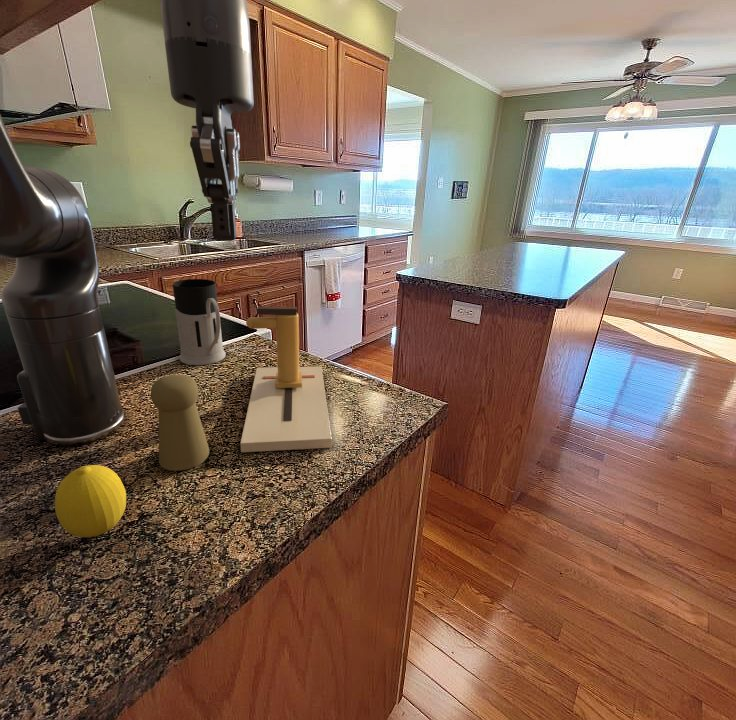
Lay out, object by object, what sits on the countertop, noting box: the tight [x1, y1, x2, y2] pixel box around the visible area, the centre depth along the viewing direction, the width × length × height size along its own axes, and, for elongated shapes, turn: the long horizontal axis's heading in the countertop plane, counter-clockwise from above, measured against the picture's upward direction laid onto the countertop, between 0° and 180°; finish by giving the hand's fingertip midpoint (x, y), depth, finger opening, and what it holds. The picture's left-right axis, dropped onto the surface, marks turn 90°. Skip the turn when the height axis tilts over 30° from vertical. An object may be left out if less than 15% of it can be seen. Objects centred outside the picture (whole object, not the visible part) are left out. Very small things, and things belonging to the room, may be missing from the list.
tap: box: [245, 306, 302, 388], centre depth 65 cm, size 9×4×13 cm, turn 99°
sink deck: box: [239, 365, 333, 453], centre depth 64 cm, size 12×24×2 cm, turn 9°
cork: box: [150, 374, 211, 472], centre depth 49 cm, size 6×6×11 cm
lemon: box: [54, 464, 127, 538], centre depth 38 cm, size 6×6×8 cm
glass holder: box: [172, 278, 227, 366], centre depth 76 cm, size 9×14×15 cm, turn 42°
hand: (225, 239), depth 44 cm, fingers closed
